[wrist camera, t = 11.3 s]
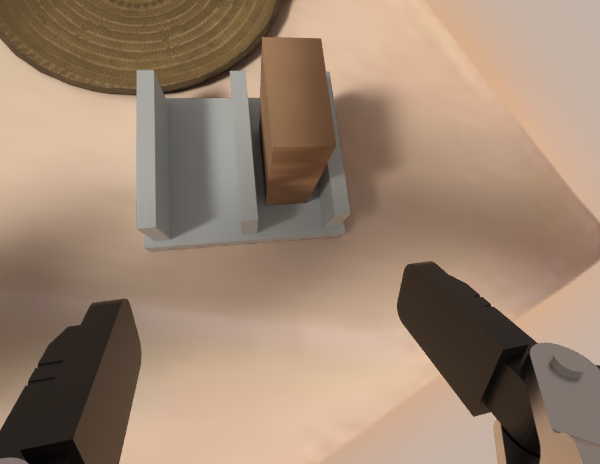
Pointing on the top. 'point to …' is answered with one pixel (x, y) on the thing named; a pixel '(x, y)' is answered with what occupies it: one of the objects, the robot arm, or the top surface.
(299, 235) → the rack
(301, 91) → the brown rectangular block
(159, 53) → the decorative disc
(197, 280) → the top surface
